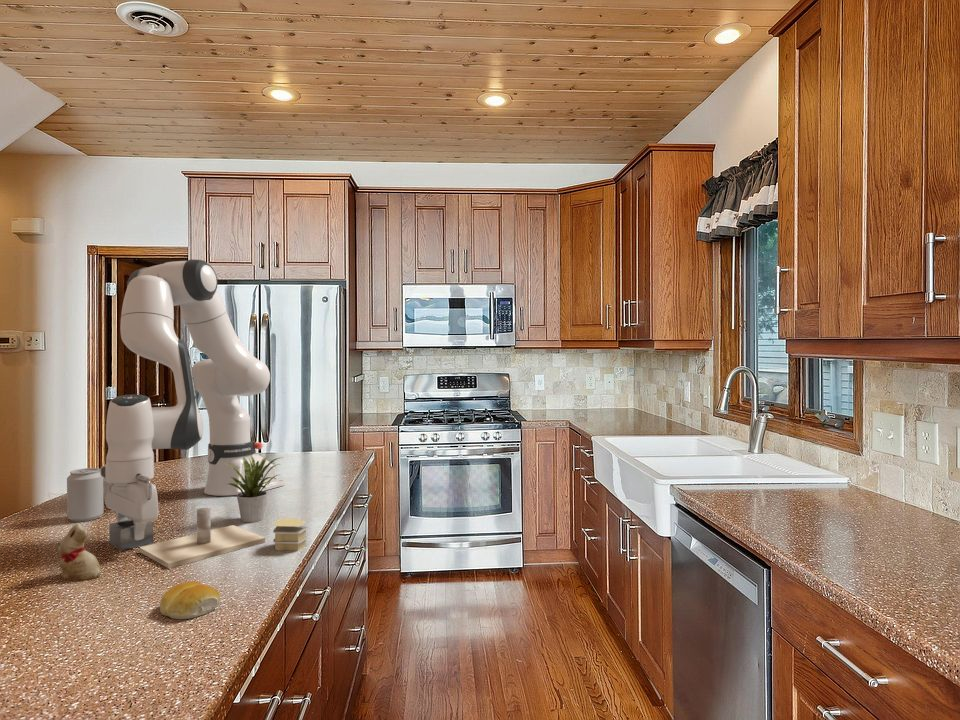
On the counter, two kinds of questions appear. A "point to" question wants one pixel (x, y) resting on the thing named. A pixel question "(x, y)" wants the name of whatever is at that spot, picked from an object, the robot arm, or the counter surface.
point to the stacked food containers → (289, 534)
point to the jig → (201, 543)
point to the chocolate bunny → (77, 556)
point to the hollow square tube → (128, 535)
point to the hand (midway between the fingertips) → (131, 535)
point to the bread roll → (189, 600)
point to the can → (84, 495)
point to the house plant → (252, 490)
